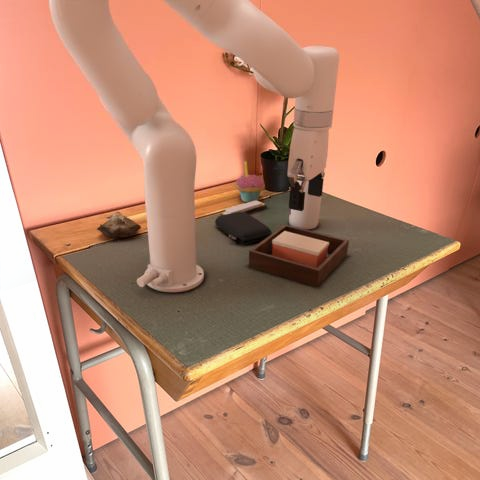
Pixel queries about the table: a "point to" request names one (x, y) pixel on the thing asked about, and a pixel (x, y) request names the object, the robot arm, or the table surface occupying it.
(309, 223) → the milk bottle
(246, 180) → the cupcake
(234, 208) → the harmonica
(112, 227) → the fossilized seashell
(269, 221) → the table surface
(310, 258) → the lunchbox
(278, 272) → the wooden box
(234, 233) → the carrying case
